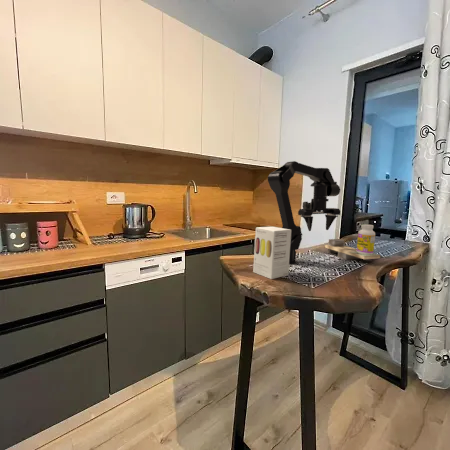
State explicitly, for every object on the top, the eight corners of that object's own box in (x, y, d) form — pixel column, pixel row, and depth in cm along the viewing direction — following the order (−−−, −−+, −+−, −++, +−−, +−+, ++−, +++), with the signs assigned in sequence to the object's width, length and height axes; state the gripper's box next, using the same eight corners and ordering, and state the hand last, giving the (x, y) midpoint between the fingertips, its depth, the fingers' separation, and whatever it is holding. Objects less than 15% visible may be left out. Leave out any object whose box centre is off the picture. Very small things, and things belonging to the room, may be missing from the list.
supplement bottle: (352, 252, 115) (355, 224, 114) (362, 251, 118) (365, 223, 117) (366, 255, 109) (369, 226, 108) (376, 254, 112) (379, 225, 111)
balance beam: (380, 263, 112) (381, 248, 111) (362, 265, 109) (364, 249, 108) (339, 251, 135) (340, 238, 134) (324, 252, 131) (325, 239, 131)
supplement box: (252, 272, 94) (254, 227, 92) (269, 268, 100) (271, 225, 98) (271, 279, 87) (274, 230, 85) (289, 275, 92) (292, 229, 90)
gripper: (326, 196, 126) (324, 227, 128) (292, 196, 121) (291, 228, 124) (342, 196, 115) (340, 230, 118) (305, 197, 111) (304, 232, 113)
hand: (318, 230), depth 118 cm, fingers open, 9 cm apart
